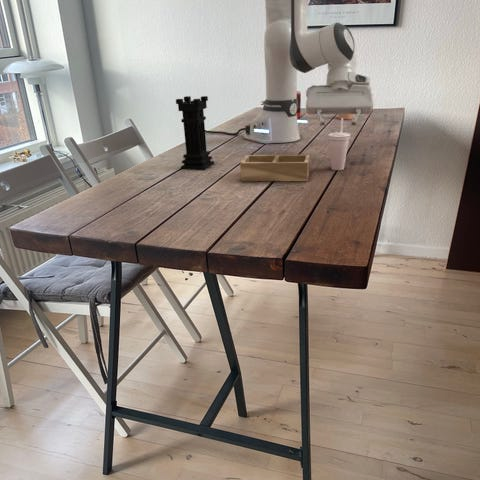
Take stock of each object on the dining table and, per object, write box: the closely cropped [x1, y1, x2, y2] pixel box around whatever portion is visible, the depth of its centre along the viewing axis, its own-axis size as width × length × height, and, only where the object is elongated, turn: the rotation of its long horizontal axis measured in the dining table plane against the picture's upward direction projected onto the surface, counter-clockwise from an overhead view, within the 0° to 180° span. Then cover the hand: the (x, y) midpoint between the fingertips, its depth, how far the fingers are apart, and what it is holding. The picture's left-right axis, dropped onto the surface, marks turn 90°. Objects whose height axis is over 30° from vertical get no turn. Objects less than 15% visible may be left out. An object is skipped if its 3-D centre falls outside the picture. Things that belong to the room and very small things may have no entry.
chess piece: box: [175, 95, 215, 171], centre depth 153 cm, size 8×8×20 cm
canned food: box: [297, 90, 302, 119], centre depth 228 cm, size 8×8×11 cm
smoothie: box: [327, 118, 351, 171], centre depth 144 cm, size 6×6×14 cm
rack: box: [239, 154, 311, 182], centre depth 142 cm, size 10×19×5 cm, turn 80°
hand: (337, 124), depth 151 cm, fingers open, 8 cm apart
